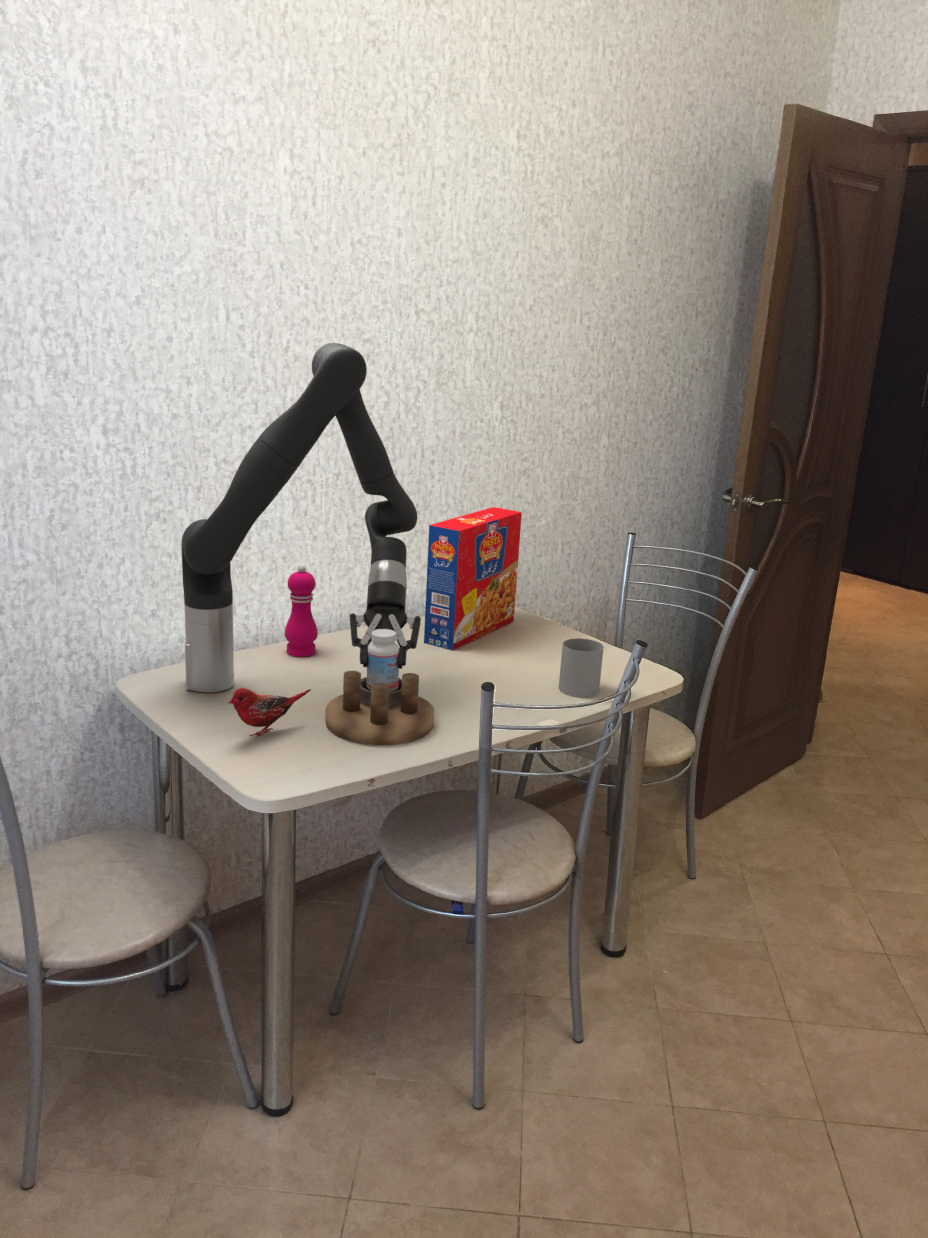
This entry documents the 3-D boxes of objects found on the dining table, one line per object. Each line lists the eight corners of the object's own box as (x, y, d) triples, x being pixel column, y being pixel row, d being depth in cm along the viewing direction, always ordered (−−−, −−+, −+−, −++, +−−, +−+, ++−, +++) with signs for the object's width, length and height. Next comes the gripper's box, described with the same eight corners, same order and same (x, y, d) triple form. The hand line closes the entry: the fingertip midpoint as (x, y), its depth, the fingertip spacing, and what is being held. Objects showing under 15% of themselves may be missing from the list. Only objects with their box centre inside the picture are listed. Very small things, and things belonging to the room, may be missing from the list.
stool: (330, 747, 180) (330, 697, 177) (321, 702, 199) (322, 657, 196) (443, 743, 185) (445, 694, 182) (424, 699, 204) (426, 654, 201)
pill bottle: (393, 695, 192) (395, 639, 189) (362, 691, 194) (363, 636, 190) (401, 684, 198) (403, 629, 195) (371, 680, 199) (373, 626, 196)
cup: (576, 679, 219) (580, 635, 216) (606, 691, 213) (611, 646, 210) (550, 688, 213) (554, 643, 210) (581, 700, 208) (585, 654, 204)
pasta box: (452, 650, 232) (459, 530, 223) (423, 643, 236) (429, 524, 227) (513, 621, 255) (521, 512, 246) (486, 615, 259) (493, 506, 250)
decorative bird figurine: (224, 741, 180) (223, 689, 177) (306, 717, 192) (306, 667, 189) (233, 747, 178) (232, 694, 175) (315, 722, 190) (316, 672, 187)
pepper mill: (324, 651, 227) (325, 564, 220) (302, 660, 221) (303, 571, 214) (299, 644, 230) (300, 558, 224) (277, 652, 224) (277, 564, 218)
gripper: (349, 577, 196) (343, 656, 189) (424, 580, 197) (421, 659, 189) (351, 595, 203) (345, 673, 196) (423, 598, 204) (420, 675, 196)
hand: (382, 666), depth 193 cm, fingers closed on pill bottle, 6 cm apart
